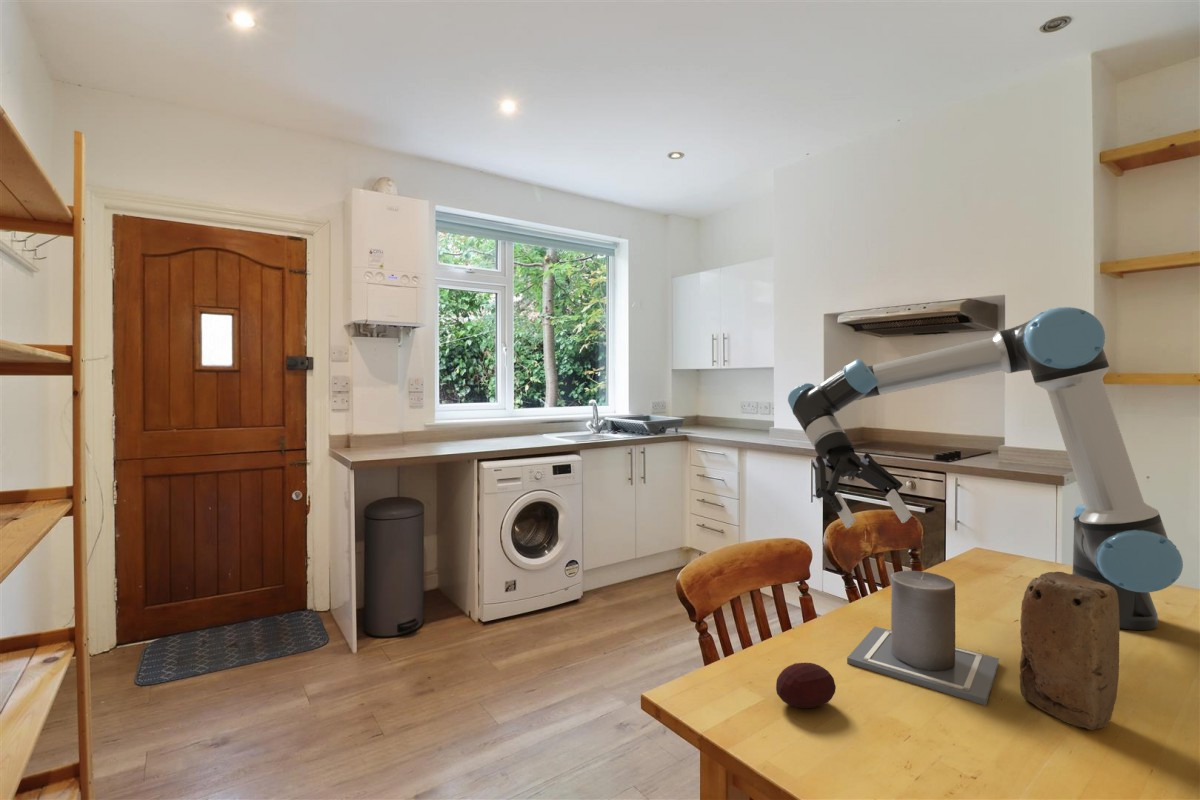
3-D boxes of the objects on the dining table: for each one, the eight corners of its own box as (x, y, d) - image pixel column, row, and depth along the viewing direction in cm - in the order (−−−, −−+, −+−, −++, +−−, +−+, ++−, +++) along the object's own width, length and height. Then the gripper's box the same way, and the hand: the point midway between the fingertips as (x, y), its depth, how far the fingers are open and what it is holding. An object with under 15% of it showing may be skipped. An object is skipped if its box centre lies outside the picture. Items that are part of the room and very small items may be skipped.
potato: (845, 715, 83) (846, 674, 83) (788, 721, 82) (788, 680, 82) (817, 688, 91) (817, 651, 91) (764, 693, 89) (764, 655, 89)
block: (1123, 726, 81) (1127, 585, 81) (1094, 739, 78) (1098, 593, 78) (1037, 688, 91) (1041, 563, 91) (1009, 699, 88) (1012, 570, 87)
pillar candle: (947, 649, 102) (947, 566, 102) (962, 676, 93) (962, 583, 93) (886, 642, 105) (886, 560, 105) (895, 666, 96) (895, 577, 96)
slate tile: (998, 663, 99) (998, 657, 99) (985, 705, 86) (986, 698, 86) (874, 631, 112) (874, 625, 112) (847, 663, 99) (847, 656, 99)
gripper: (867, 449, 136) (919, 527, 121) (774, 454, 129) (817, 536, 115) (884, 428, 130) (940, 507, 116) (788, 432, 124) (835, 516, 109)
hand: (879, 522), depth 115 cm, fingers open, 13 cm apart
